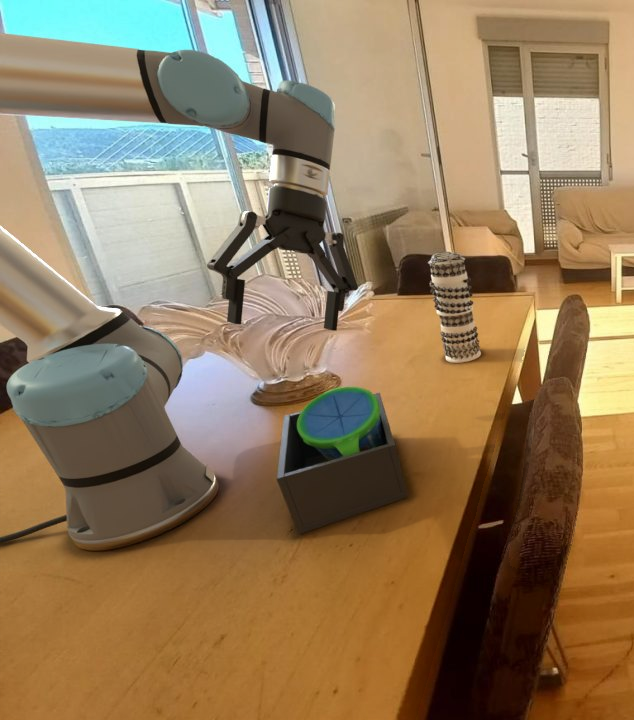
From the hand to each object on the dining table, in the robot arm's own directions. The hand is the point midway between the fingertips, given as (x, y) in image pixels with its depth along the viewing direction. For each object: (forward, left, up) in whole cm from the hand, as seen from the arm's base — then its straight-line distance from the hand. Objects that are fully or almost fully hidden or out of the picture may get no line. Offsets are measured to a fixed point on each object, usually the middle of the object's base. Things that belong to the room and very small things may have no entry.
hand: (285, 326), depth 75 cm
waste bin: (+4, -16, -21) cm, 27 cm away
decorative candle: (+31, +24, -21) cm, 44 cm away
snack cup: (+6, -14, -19) cm, 24 cm away
